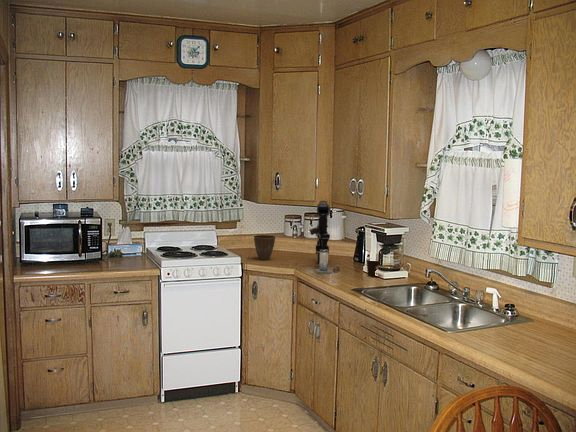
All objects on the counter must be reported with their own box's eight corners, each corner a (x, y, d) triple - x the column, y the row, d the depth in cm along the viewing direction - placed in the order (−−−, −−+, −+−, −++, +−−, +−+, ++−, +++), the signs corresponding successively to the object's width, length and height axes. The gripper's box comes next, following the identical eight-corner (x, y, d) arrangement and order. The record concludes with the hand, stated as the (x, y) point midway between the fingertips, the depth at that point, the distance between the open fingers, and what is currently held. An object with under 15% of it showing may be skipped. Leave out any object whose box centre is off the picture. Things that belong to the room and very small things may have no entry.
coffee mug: (369, 277, 358) (369, 261, 357) (363, 274, 366) (364, 258, 366) (387, 277, 361) (387, 260, 360) (381, 274, 370) (381, 258, 369)
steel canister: (320, 269, 375) (321, 249, 374) (328, 270, 373) (329, 249, 372) (317, 270, 370) (318, 250, 369) (326, 271, 368) (326, 250, 367)
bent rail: (331, 269, 382) (331, 264, 381) (337, 269, 382) (338, 264, 382) (334, 273, 370) (335, 268, 369) (342, 273, 370) (342, 268, 370)
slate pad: (315, 270, 376) (315, 269, 376) (329, 270, 377) (329, 269, 377) (317, 273, 367) (317, 271, 367) (331, 273, 368) (331, 271, 368)
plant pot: (274, 261, 405) (275, 238, 404) (252, 260, 405) (253, 237, 404) (275, 257, 420) (275, 235, 419) (253, 257, 420) (254, 234, 419)
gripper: (308, 221, 394) (307, 245, 396) (313, 225, 376) (312, 249, 377) (324, 222, 396) (324, 245, 397) (330, 225, 377) (329, 249, 379)
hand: (322, 247), depth 388 cm, fingers open, 9 cm apart
